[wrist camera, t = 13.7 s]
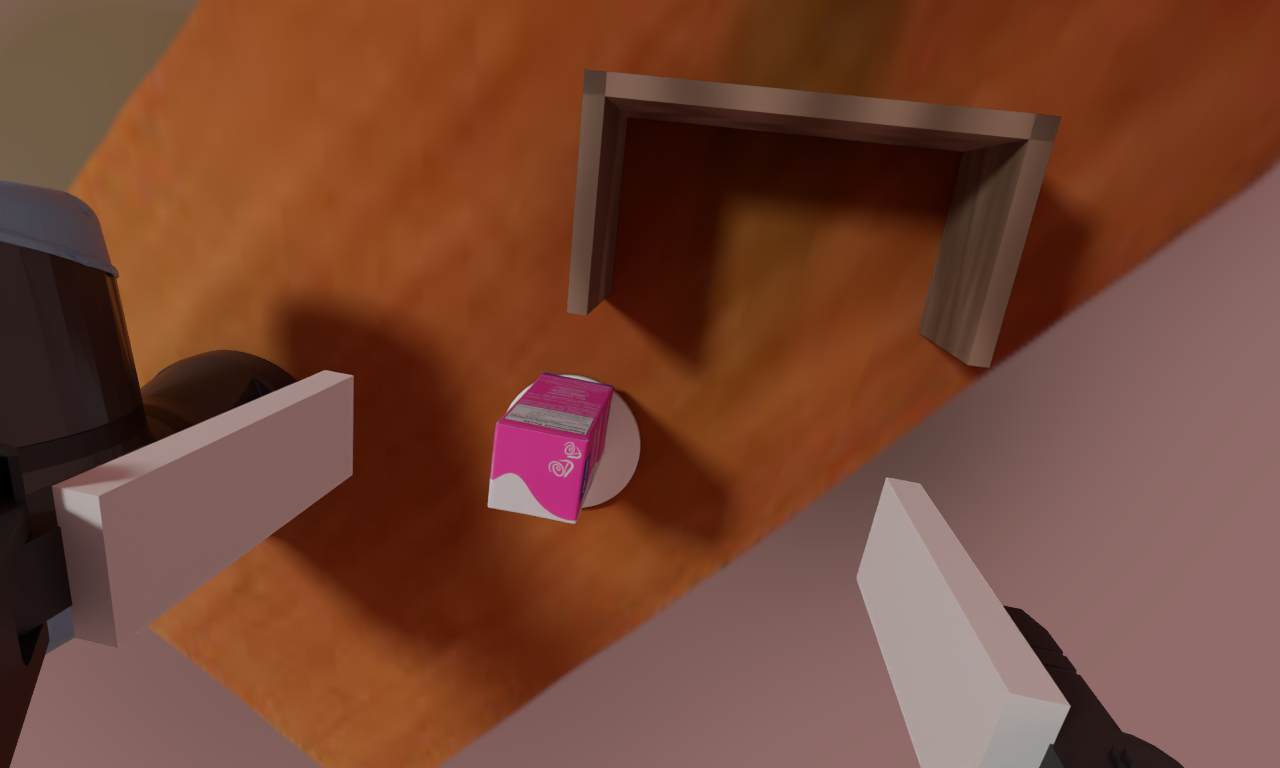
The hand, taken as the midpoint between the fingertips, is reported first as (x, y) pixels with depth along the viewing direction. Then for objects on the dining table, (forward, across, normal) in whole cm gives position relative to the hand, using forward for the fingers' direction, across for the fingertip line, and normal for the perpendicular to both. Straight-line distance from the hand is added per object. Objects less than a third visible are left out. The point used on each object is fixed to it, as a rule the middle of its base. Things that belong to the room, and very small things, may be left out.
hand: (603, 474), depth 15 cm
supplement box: (+31, -7, -10) cm, 33 cm away
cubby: (+31, +5, +5) cm, 32 cm away
